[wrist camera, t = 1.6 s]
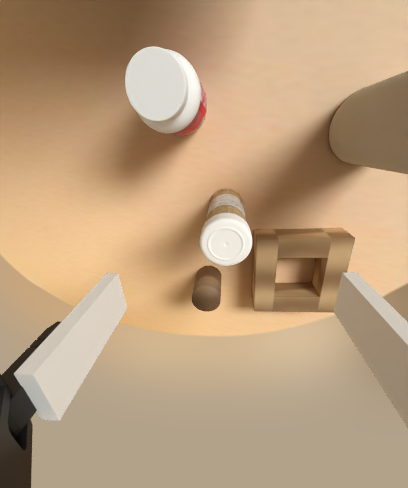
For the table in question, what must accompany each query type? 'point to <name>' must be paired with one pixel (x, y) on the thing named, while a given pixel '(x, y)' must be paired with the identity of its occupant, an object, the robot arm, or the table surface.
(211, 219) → the sprinkles bottle
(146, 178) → the table surface
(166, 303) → the table surface
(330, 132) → the travel mug
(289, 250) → the oak collar
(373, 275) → the table surface
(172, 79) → the pill bottle
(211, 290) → the walnut stub
